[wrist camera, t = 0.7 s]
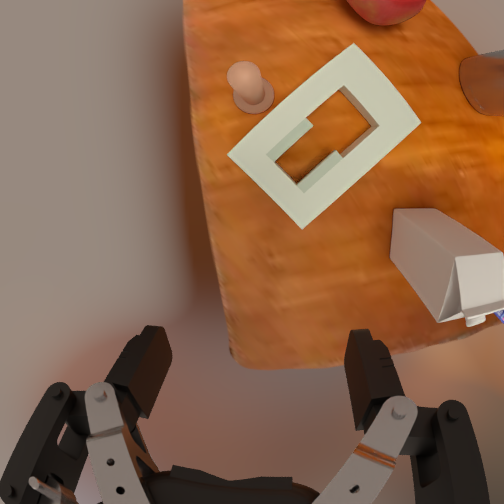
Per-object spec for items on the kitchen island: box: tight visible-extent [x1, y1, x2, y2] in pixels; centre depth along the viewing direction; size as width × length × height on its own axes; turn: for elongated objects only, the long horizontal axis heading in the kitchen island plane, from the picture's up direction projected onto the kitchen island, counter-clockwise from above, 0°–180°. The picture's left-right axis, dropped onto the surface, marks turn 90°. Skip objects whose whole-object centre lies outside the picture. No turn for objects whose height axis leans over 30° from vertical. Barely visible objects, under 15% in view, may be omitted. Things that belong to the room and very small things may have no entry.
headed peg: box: [227, 61, 274, 114], centre depth 23 cm, size 5×5×11 cm
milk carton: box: [390, 208, 504, 327], centre depth 24 cm, size 7×7×19 cm
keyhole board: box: [227, 43, 421, 229], centre depth 27 cm, size 20×12×3 cm, turn 135°
